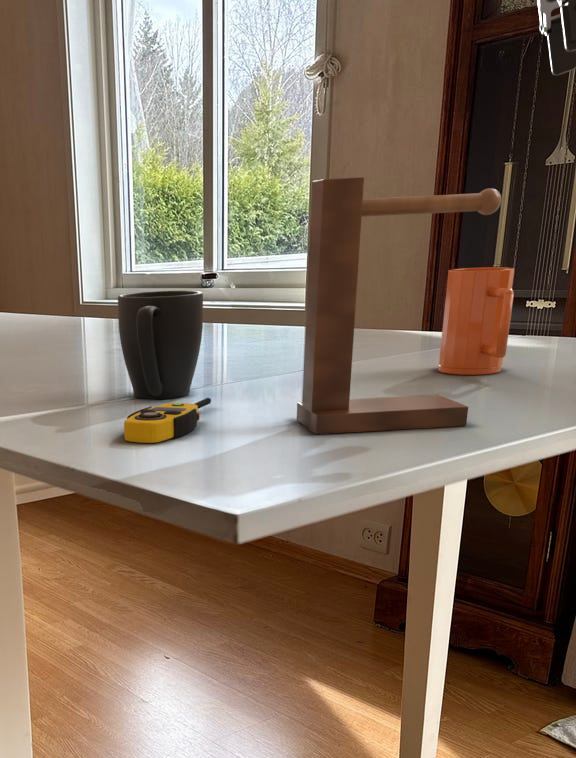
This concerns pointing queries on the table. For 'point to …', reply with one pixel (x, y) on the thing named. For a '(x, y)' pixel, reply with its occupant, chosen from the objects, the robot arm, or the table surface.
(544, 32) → the robot arm
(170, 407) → the yellow walkie talkie
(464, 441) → the table surface
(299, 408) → the stand
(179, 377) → the mug
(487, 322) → the cup
